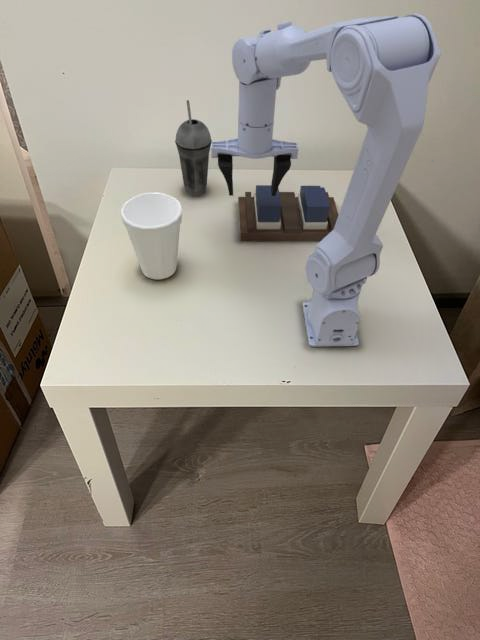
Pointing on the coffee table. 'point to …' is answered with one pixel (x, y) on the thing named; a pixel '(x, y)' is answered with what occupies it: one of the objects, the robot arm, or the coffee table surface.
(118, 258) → the coffee table surface
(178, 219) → the cup
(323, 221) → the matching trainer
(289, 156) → the robot arm
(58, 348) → the coffee table surface
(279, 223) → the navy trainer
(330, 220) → the slotted wooden tray
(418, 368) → the coffee table surface
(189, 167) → the beverage cup
